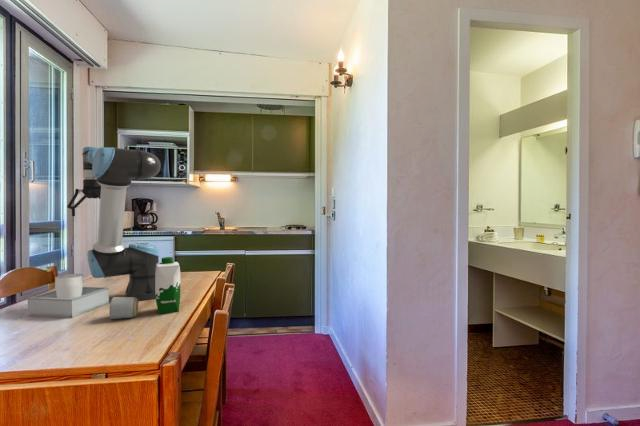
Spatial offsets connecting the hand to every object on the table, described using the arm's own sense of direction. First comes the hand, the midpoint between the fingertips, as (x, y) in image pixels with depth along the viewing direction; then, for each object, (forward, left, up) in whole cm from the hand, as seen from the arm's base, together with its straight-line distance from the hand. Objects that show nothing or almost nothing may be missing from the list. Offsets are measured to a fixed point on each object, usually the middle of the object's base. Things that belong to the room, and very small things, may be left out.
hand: (92, 222), depth 171 cm
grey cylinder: (-46, +39, -32) cm, 68 cm away
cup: (-19, +34, -31) cm, 50 cm away
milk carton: (-57, +30, -32) cm, 72 cm away
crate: (-19, +34, -32) cm, 50 cm away
